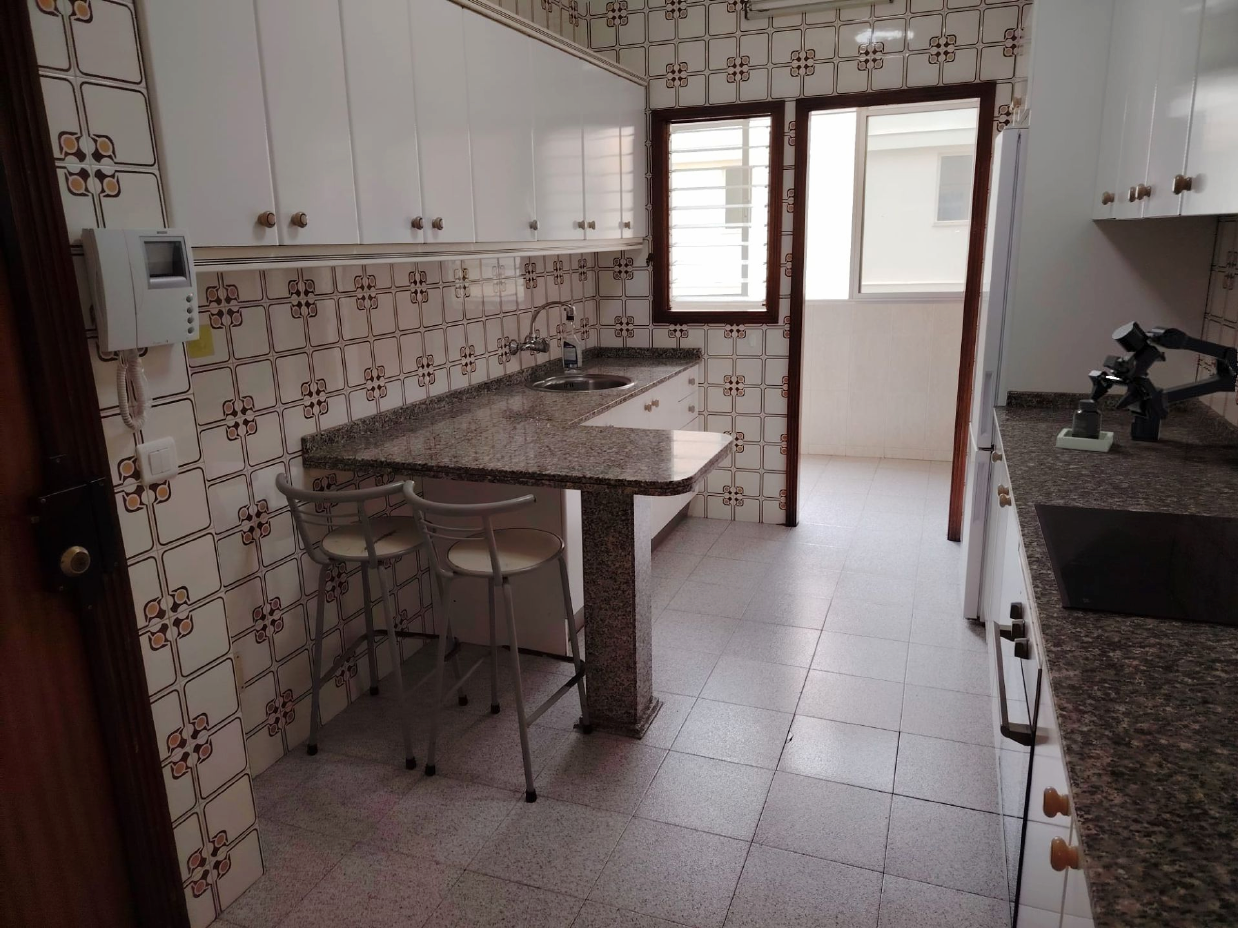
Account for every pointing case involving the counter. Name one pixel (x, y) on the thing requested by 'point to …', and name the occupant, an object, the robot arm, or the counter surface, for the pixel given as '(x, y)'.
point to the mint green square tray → (1084, 441)
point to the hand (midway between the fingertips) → (1102, 406)
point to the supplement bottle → (1087, 420)
